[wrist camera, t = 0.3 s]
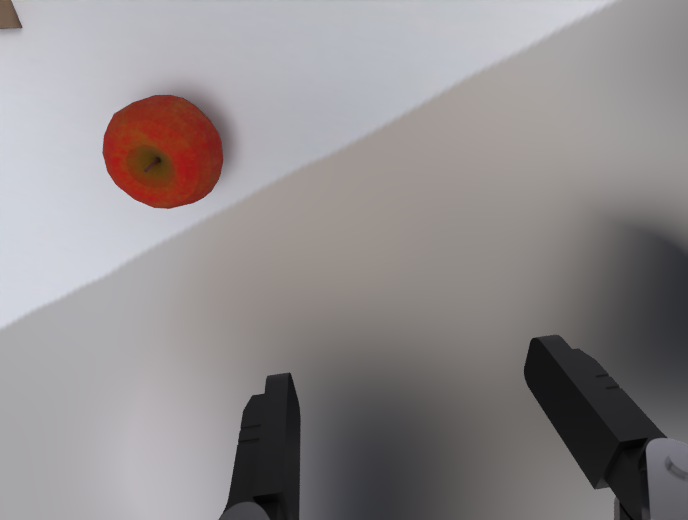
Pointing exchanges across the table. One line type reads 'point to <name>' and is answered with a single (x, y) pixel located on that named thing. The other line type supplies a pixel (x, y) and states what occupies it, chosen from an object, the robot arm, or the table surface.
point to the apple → (163, 151)
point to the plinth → (8, 15)
